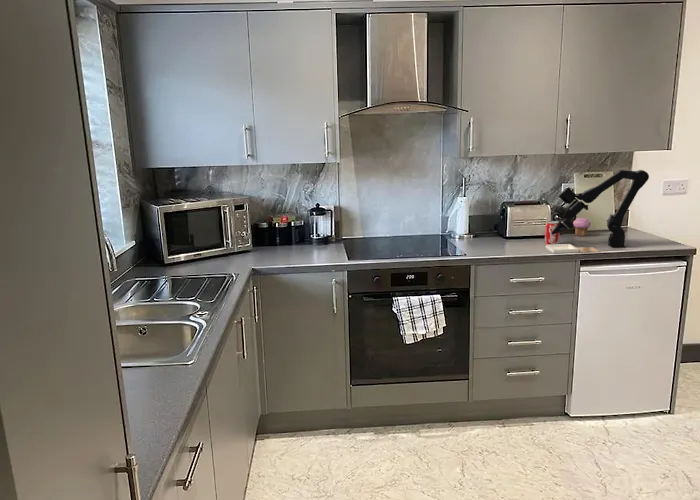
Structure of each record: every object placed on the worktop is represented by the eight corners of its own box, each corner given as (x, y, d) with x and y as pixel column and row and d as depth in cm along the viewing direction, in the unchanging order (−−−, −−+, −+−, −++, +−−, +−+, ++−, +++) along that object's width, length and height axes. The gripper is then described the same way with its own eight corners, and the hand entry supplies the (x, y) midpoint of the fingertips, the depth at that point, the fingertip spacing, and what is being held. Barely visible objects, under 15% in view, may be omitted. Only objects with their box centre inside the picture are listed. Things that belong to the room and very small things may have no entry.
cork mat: (593, 248, 279) (593, 247, 279) (600, 252, 271) (600, 251, 270) (574, 248, 280) (574, 247, 280) (581, 252, 271) (581, 251, 271)
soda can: (562, 245, 286) (563, 222, 283) (551, 247, 284) (552, 223, 281) (552, 243, 293) (553, 220, 290) (541, 244, 290) (542, 221, 287)
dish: (569, 247, 282) (570, 244, 282) (578, 253, 270) (579, 249, 270) (545, 248, 282) (545, 244, 282) (553, 253, 271) (553, 249, 270)
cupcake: (570, 236, 308) (571, 218, 306) (574, 233, 315) (575, 215, 313) (588, 237, 303) (589, 219, 301) (591, 234, 310) (592, 216, 308)
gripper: (555, 197, 292) (533, 218, 295) (568, 202, 274) (544, 225, 277) (570, 211, 293) (547, 233, 296) (584, 217, 275) (559, 240, 278)
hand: (549, 232), depth 287 cm, fingers closed on soda can, 7 cm apart
